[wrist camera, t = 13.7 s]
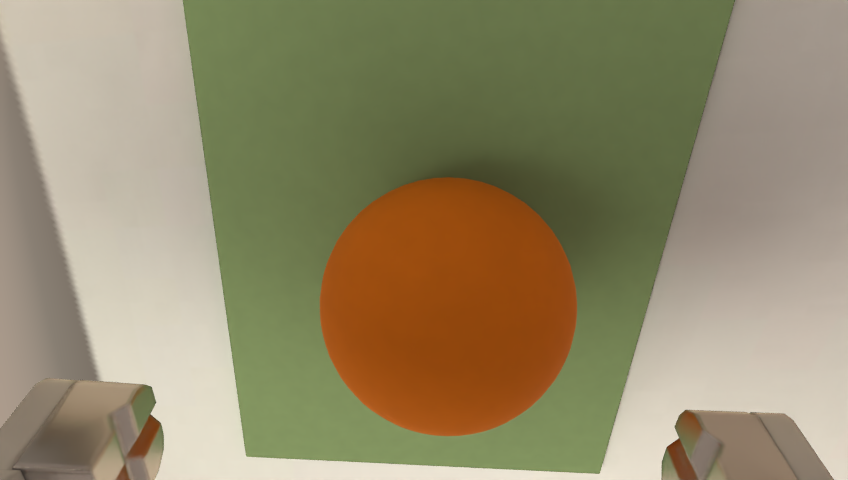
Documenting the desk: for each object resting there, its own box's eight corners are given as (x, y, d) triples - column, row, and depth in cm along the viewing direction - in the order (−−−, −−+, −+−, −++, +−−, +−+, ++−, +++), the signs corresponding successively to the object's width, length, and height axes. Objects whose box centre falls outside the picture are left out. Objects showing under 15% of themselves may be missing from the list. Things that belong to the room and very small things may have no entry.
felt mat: (160, -196, 12) (154, -199, 11) (774, -160, 12) (781, -161, 12) (248, 450, 21) (245, 456, 20) (597, 466, 21) (599, 474, 20)
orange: (295, 219, 16) (230, 368, 11) (471, 91, 14) (490, 199, 9) (425, 352, 18) (421, 530, 13) (591, 256, 16) (661, 418, 11)
